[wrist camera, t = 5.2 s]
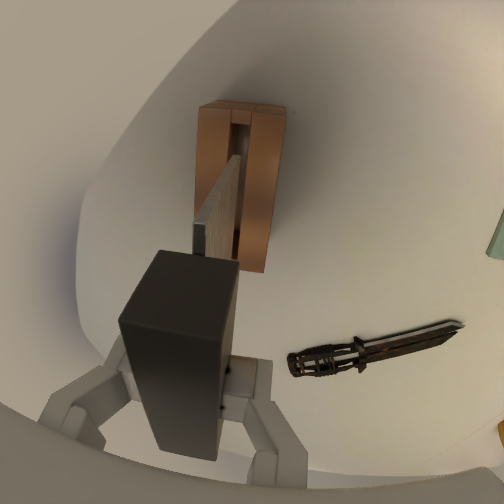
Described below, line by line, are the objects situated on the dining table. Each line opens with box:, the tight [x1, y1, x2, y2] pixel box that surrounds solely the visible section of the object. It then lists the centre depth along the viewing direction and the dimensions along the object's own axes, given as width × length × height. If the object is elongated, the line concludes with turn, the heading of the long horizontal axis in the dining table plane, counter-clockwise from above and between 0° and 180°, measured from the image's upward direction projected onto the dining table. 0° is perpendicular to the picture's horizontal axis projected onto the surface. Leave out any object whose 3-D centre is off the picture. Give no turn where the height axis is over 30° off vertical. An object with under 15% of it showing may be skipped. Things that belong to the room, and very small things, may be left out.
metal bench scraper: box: [118, 155, 241, 461], centre depth 13 cm, size 10×2×10 cm, turn 174°
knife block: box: [194, 100, 286, 273], centre depth 26 cm, size 13×6×6 cm, turn 174°
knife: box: [287, 322, 466, 377], centre depth 38 cm, size 25×6×1 cm, turn 103°
